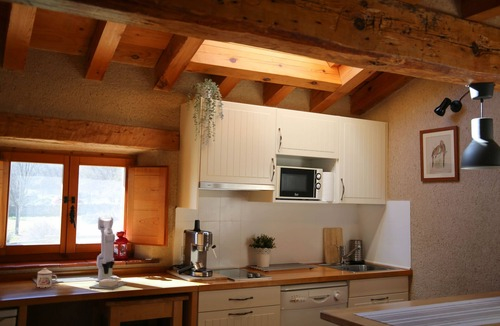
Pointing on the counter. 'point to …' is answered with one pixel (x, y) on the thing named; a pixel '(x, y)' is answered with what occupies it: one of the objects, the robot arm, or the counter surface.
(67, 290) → the counter surface
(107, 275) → the sage cube
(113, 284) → the stacking base
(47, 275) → the teacup with lid
